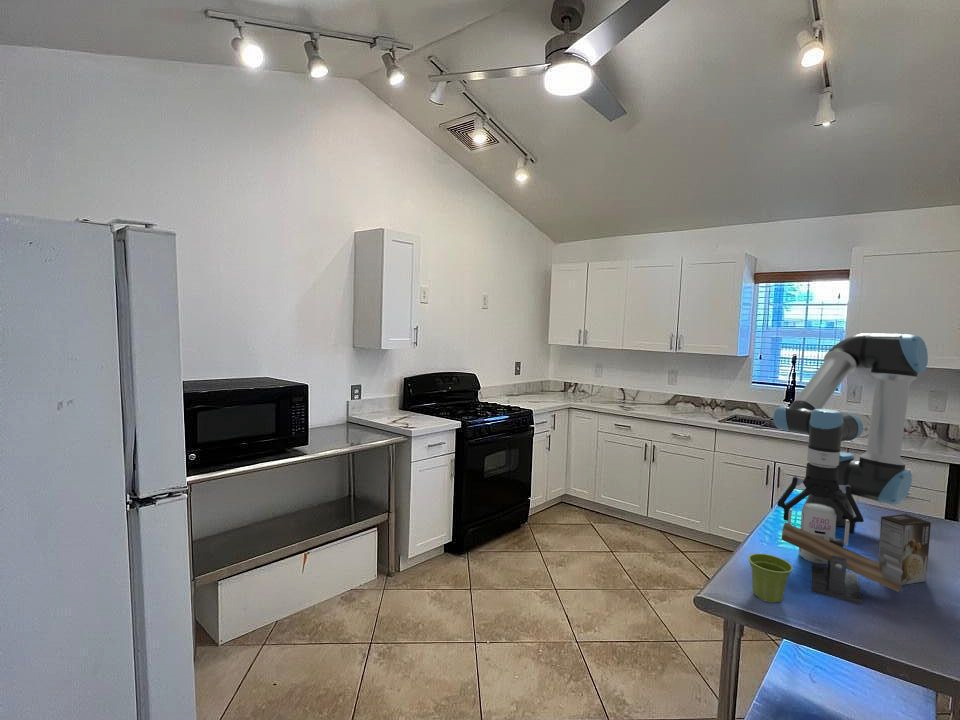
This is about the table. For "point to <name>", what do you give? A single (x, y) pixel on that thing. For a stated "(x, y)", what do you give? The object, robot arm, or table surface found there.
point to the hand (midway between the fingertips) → (816, 537)
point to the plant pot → (769, 576)
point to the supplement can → (817, 526)
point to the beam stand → (836, 579)
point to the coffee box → (906, 545)
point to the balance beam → (881, 572)
